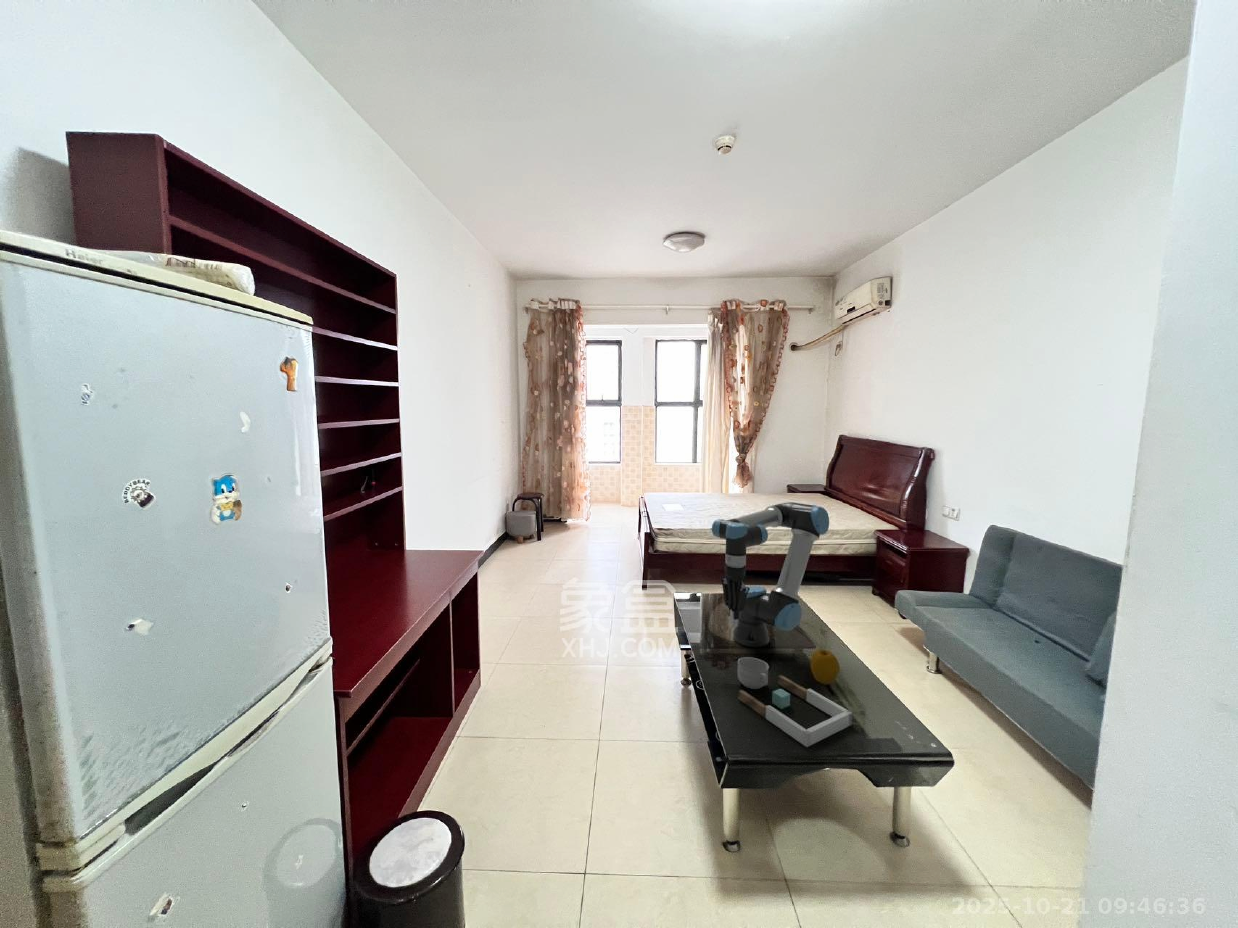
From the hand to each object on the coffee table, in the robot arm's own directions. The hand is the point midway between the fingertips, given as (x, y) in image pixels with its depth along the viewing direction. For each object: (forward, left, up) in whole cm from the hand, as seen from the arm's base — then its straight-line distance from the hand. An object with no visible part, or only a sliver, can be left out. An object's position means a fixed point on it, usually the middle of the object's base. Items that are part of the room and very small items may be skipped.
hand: (733, 626), depth 174 cm
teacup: (+11, 0, -18) cm, 21 cm away
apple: (+21, +25, -18) cm, 37 cm away
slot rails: (+20, 0, -18) cm, 27 cm away
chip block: (+23, 0, -18) cm, 29 cm away
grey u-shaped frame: (+34, 0, -18) cm, 38 cm away
